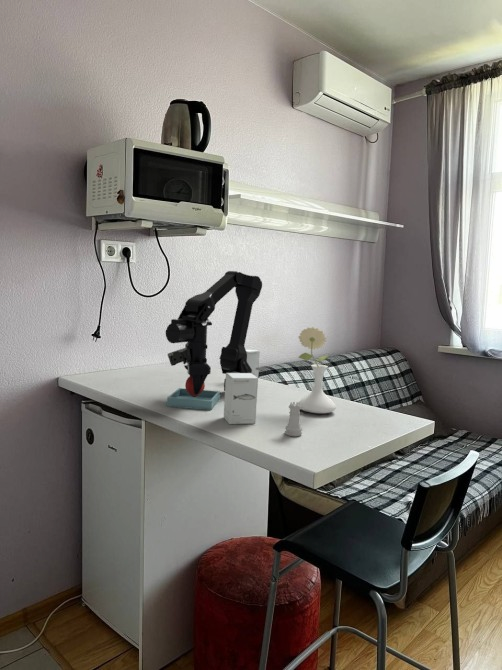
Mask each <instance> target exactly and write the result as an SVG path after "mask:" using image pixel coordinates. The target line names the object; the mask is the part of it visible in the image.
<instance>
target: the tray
mask: <svg viewBox="0 0 502 670" xmlns="http://www.w3.org/2000/svg"><path fill="white" fill-rule="evenodd" d="M166 400H167V401H166V406H167V407H171V408H184V409H194V410H205V411H207V410H209V411H212V410H213V408H215V406H216V405H217V404H218V403H219V401H220V400H221V391H220V390H210V389H204V390H203V391H202V392H201V393H200V394H199V395H198V396H197V397H193V396H192V395H190V394H189V393H188V392H187V390H186V388H184V387H183V388H182V387H179V388H177V389H176V390H175V391H174V392H172V393H171V394H170V395H168V396H167V399H166Z"/></svg>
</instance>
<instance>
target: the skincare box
mask: <svg viewBox="0 0 502 670" xmlns="http://www.w3.org/2000/svg"><path fill="white" fill-rule="evenodd" d="M245 350H246V353H247V363H248V364H249V366H250V368H251V369H252V372H251V373H252V374H253V375H254V376H256V377H257V378H258V379H259V373H260V372H259V371H260V370H259V369H260V353H261V352H260V350H259V349H258V350H257V349H245Z"/></svg>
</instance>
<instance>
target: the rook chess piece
mask: <svg viewBox="0 0 502 670" xmlns="http://www.w3.org/2000/svg"><path fill="white" fill-rule="evenodd" d="M298 402H299V401H298ZM298 402H295V401H291V402H290V404H289V406H288V408H289V418H288V422H287V425H286V426H285V428H284V429H285V430H284V434H286V436H287V437H296V438H297V437H301V436H302V434H303V432H302V431H303V428H302V426H301V425H302V424H301V422H300V414H301V412H300V410H302V409H301V408H302V407H301V406H300V403H299V404H298Z"/></svg>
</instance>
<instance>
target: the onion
mask: <svg viewBox="0 0 502 670" xmlns="http://www.w3.org/2000/svg"><path fill="white" fill-rule="evenodd" d="M205 387H206V385H205V382H204V383H203V385H202V387H201V389H200V391H199V393H198V394H194V388H193V381H192V377H191V376H190V375H189V376H188V377H187V379H186V381H185V389H186V390H187V392H188V393H189V394H190V395H192V396H193V397H197V396H198V395H199V394H200V393H201V392H202V391H203V390H205Z"/></svg>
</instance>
